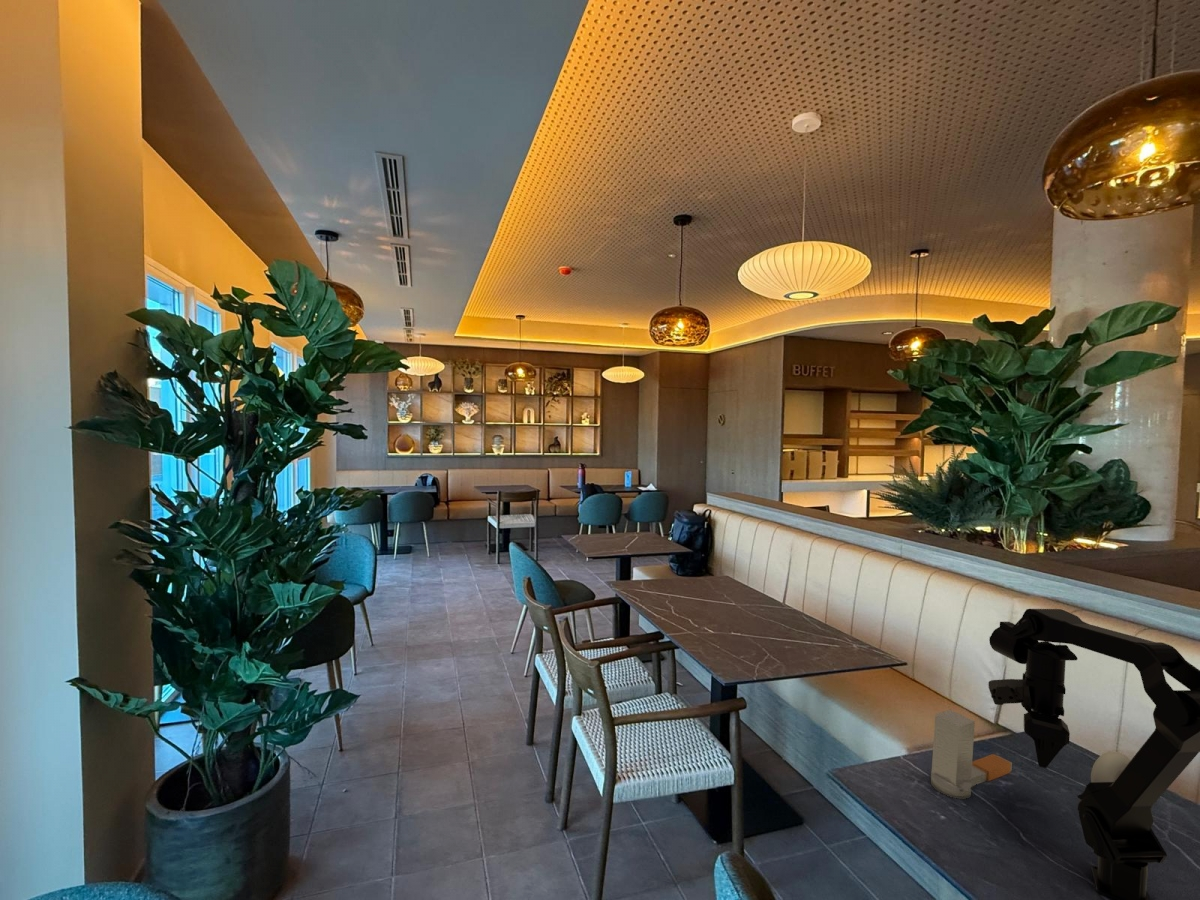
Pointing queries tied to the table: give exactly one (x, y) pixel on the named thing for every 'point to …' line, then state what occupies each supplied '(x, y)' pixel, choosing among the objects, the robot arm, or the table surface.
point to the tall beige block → (953, 747)
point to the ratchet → (974, 776)
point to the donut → (1109, 767)
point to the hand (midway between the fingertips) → (1040, 755)
